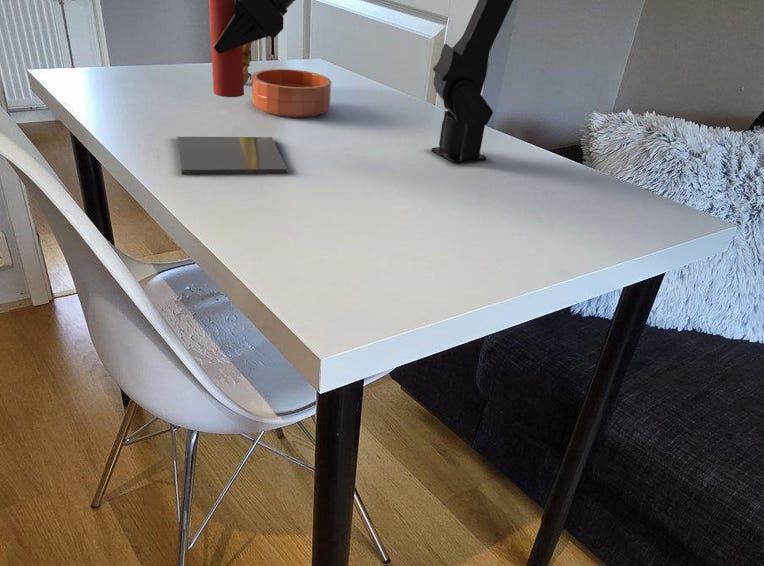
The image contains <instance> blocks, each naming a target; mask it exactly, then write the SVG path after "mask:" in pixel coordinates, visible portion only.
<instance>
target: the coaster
mask: <svg viewBox="0 0 764 566" xmlns="http://www.w3.org/2000/svg"><path fill="white" fill-rule="evenodd" d="M176 141H177V142H176V143H177V148H178V156H179V163H180V170H181V174H182V175H217V174H218V175H233V174H234V175H236V174H239V175H241V174H246V175H247V174H288V168H287V165H286V164H285V162H284V160H283V158H282V155H281V154H280V152H279V149H278V148H277V145H276V144H275V141H274V139H273V137H272V136H176Z"/></svg>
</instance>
